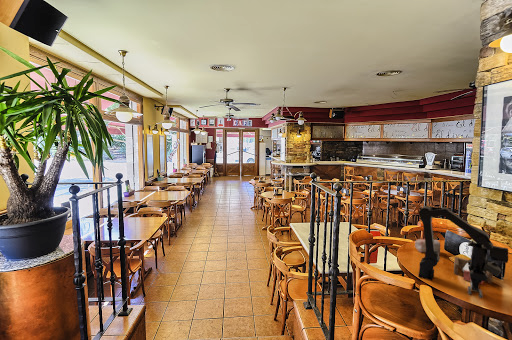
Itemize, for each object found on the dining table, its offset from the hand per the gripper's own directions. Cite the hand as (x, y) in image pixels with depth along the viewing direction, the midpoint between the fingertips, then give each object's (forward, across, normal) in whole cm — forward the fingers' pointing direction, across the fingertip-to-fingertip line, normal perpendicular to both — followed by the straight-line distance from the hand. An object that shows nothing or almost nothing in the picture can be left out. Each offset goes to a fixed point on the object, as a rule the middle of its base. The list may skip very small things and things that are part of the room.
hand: (475, 285), depth 132 cm
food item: (+4, +41, +22) cm, 47 cm away
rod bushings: (+3, -2, 0) cm, 4 cm away
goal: (+3, +20, 0) cm, 20 cm away
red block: (+3, +5, 0) cm, 6 cm away
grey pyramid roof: (+3, +16, 0) cm, 17 cm away
